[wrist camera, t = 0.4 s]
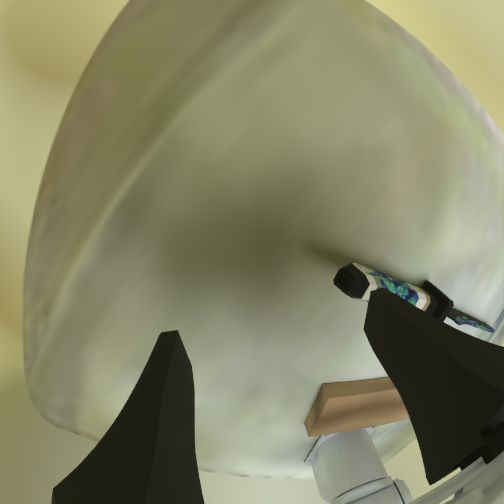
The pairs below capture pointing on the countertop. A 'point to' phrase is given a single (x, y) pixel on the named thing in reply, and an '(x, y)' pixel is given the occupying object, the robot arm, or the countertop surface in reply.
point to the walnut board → (355, 406)
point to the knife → (402, 293)
